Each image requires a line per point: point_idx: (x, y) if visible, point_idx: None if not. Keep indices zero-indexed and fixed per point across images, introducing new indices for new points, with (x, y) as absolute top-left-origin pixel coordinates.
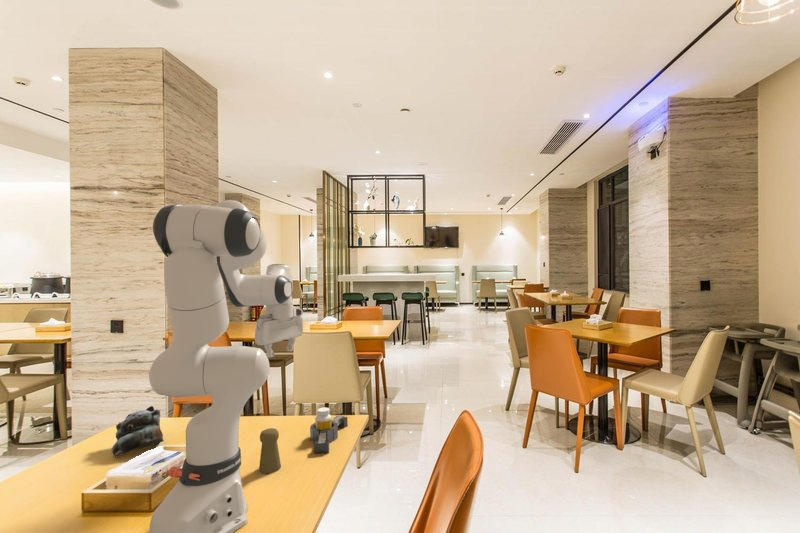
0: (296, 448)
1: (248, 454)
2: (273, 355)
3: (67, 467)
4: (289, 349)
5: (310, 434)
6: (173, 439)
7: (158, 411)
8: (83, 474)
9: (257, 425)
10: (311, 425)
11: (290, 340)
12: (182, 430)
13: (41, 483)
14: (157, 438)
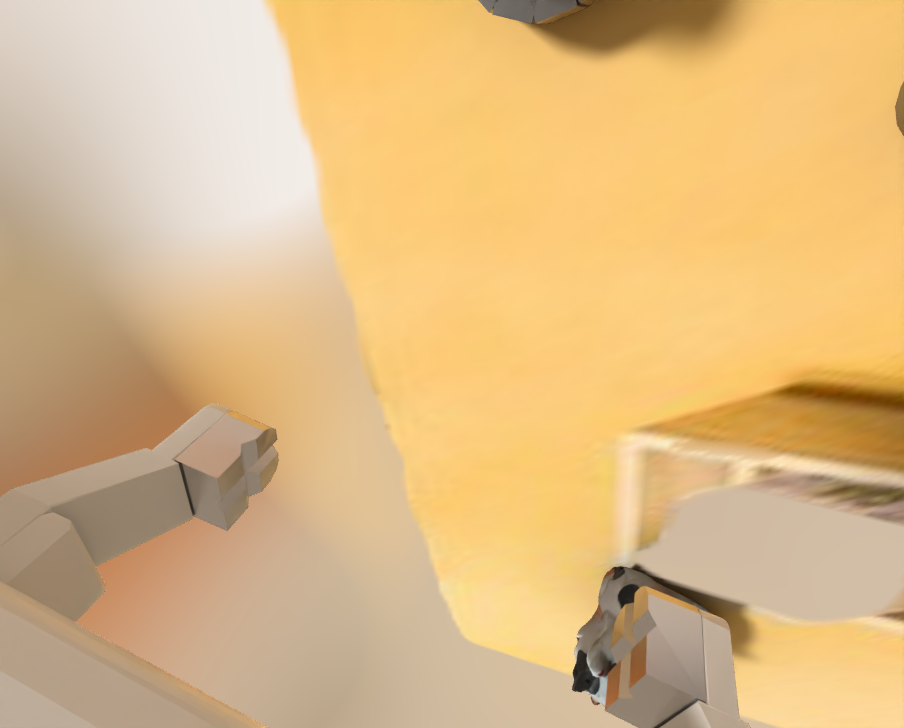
0: (701, 45)
1: (744, 277)
2: (675, 609)
3: (753, 687)
4: (254, 454)
5: (586, 2)
6: (582, 543)
7: (598, 664)
8: (811, 658)
9: (447, 347)
10: (535, 17)
11: (89, 561)
12: (516, 539)
13: (846, 708)
14: (675, 594)
